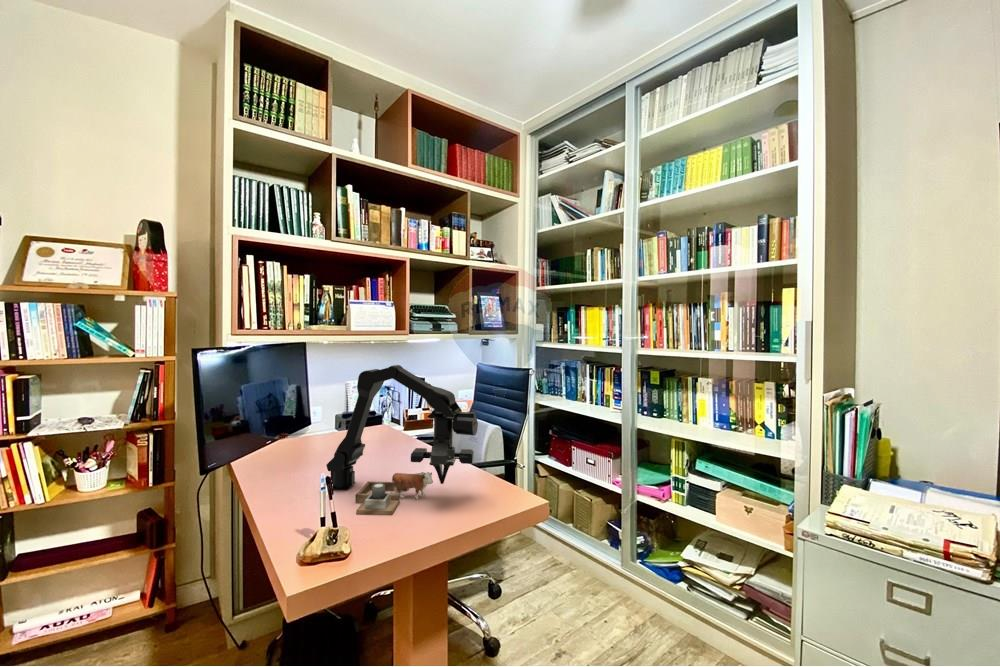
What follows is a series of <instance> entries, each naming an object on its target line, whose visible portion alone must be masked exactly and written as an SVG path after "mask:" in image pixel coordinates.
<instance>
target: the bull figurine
mask: <svg viewBox="0 0 1000 667" xmlns="http://www.w3.org/2000/svg"><path fill="white" fill-rule="evenodd" d="M432 474H433V472H428V471H427V472H424V471H423V472H422V471H421V472H416V473H403V472H395V473H394V474H393V475H392V477H391V478H392V479H391V482H393V485H394V490H395V491H394V492H395V495H400V499H405V497H406V496H405V495H404V494H403V493H402V492H403V491H401V488H402V487H405V488H406V489H407V490H408V491H409V490H411V489H415V496H414V499H415V500H420V499H419V495H418V494H419V493H420V496H421V497H426V494H425V493H424V489H425V488H426V487H428V485H429V484H433V483H434V479H433V477H432V476H433V475H432ZM394 483H395V484H394ZM395 485H396V486H395Z"/></svg>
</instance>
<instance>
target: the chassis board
mask: <svg viewBox="0 0 1000 667" xmlns="http://www.w3.org/2000/svg"><path fill="white" fill-rule="evenodd" d="M374 484H385V497H383V498H381V499H374V498H372V492H370V491H372V486H373V485H374ZM394 484H395V483H394ZM395 486H396V485H395ZM386 491H388V492H386ZM407 491H409V490H407V489H406V488H405V487H402V488H401V492H407ZM369 492H370V493H369ZM391 492H395V490H394V485H393V482H392V481H369V480H368V481H367V482H366V483H364V485H363V486H362V487H361V488H360V489H359V490H358V491H357V492H356V493H355V496H354V497H355V500H354V502H355V504H360V505H359V506H358V507H357V509H356V515H365V516H366V515H368V516H369V515H370V516H371V515H372V516H393V515H394V513H395V512H396V510H397V508H398V507H399V505H400V504H401V497H400V495H399V494H396V493H395V494H392V493H391Z"/></svg>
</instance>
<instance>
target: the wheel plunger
mask: <svg viewBox="0 0 1000 667" xmlns="http://www.w3.org/2000/svg"><path fill="white" fill-rule="evenodd" d="M371 493H372V498H374V499H381V498H383V497H385V493H386V491H385V484H374V485H373V486H372V490H371Z"/></svg>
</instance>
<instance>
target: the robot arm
mask: <svg viewBox="0 0 1000 667" xmlns="http://www.w3.org/2000/svg"><path fill="white" fill-rule="evenodd" d="M389 380H395V381H396V382H397V383H398V384H401V385H403V387H405V388H407V389H408V390H410V391H412V392H413V393H415V394H417V395H419V396H420V397H421V398H423V399H424V400H425V402H426V403H427V405H428V406H430V408H432V409H433V410H432V411H431V413H429V414H428V415H427V417H426V418H427V419H433V444H432V446H431V451H428V449H427V448H426V447H415V449H413V451H412V452H411V453H410V463H422V462H423V460H424V459H429V465H430V466H433V467H434V469H435V471H436V473H437V477H438V480H439V483H440V484H441V485H443V484H444V483H445V480H446V478H447V474H448V471H449V469H450V467H453V466H454V465H455V463H456V460H459V462H460V463H461V464H463V465H466V464H467V465H471V464H473V462H474V459H475V457H474V456H475V452H474V450H473V449H469V448H468V449H463V448H462V449H461V450H460V452H456V448H455V446H453V439H454V438H453V432H454V433H455V434H456V435H462V436H476V435H477V432H478V427H479V422H478V418H477V415H476V413H477V412H474V411H470V412H468V411H466V412H465V411H463V410H462V408H461V407H460V406H459V403H457V401H456V397H455V396H456V395H455V394H454V393H453V392H452V391H450V390H447V389H444V388H442V387H439V386H438V387H437V386H434V385H432V384H430V383H428V382H426V381H425V380H424V379H422V378H420V377H418V376H417V375H415V374H414V373H412V372H410V371H408V370H407V369H405V368H404V367H403V366H401V365H400V364H396V365H395V364H394V365H390V366H388V367H385V368H381V369H378V368H374V369H368V370H364V371H361V372H360V373H359V375H358V378H357V385H356V389H357V393H358V397H357V400H356V402H355V406H354V408H353V411H352V415H351V419H350V422H349V424H348V428H347V431H346V434H345V437H344V438H343V439H342V441H340V443H339V444H338V446H337V448H336V450H335V452H334V455H333V457H332V459H330V461H328V462H327V464H326V468H327V472H330V481H331V480H332V484H333V490H334V491H335V490H336V491H348V490H350V489H351V488H352V487H353V486H354V484H356V476H355V474H356V472H355V470H354V465H356V463H357V462H358V460H359V459H360V458H361V457H362V456H364V449H365V447H366V443H362V442H363V441H362V435H363V433H364V429H365V427H366V423H367V419H368V418H369V417H368V416H369V414H370V411H371V407H372V405H373V401H374V398H375V397H376V395H377V394H378V393H379V392H380V390H381V389H382V387H383V385H384V382H385V381H389ZM333 490H332V491H333Z"/></svg>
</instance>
